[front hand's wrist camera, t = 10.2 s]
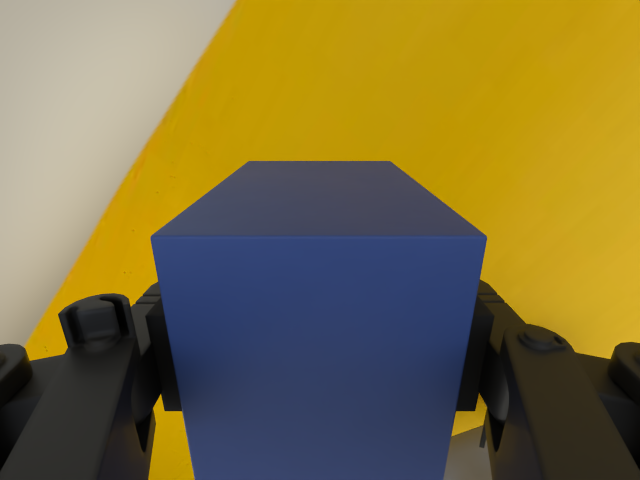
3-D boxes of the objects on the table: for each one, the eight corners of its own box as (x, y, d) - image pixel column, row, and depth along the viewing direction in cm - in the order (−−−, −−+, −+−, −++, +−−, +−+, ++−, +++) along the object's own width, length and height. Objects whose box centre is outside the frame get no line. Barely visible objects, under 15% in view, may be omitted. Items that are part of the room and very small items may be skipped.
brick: (390, 160, 15) (488, 236, 6) (381, 299, 17) (441, 491, 9) (248, 160, 15) (148, 236, 6) (258, 299, 17) (196, 491, 9)
